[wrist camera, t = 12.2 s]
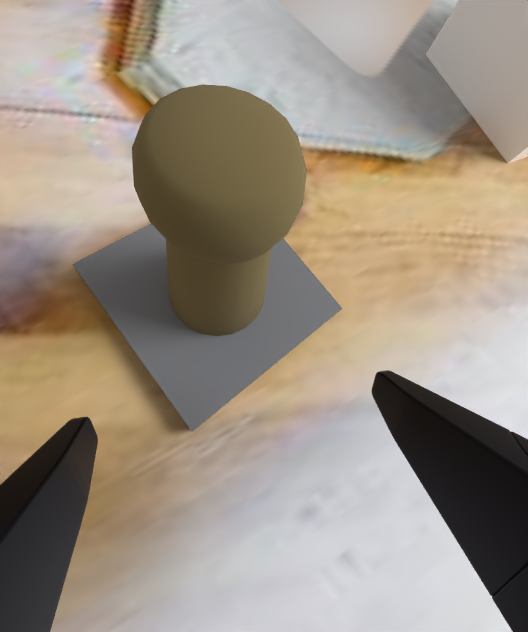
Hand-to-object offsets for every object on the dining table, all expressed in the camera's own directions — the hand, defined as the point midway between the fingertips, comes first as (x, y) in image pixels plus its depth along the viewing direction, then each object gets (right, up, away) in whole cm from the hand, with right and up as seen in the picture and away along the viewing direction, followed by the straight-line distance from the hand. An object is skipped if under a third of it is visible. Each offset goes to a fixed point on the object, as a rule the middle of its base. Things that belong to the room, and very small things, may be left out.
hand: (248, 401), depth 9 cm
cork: (-2, +4, +9) cm, 10 cm away
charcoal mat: (-3, +4, +10) cm, 11 cm away
